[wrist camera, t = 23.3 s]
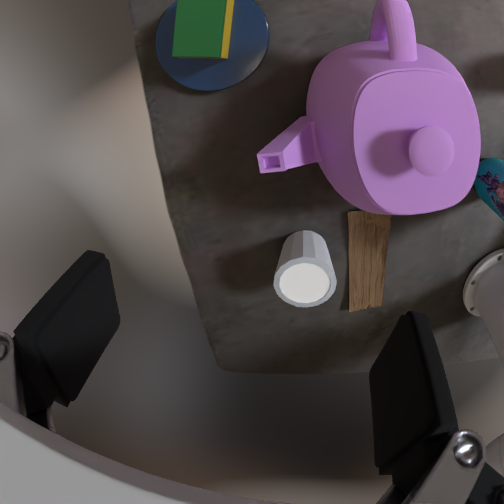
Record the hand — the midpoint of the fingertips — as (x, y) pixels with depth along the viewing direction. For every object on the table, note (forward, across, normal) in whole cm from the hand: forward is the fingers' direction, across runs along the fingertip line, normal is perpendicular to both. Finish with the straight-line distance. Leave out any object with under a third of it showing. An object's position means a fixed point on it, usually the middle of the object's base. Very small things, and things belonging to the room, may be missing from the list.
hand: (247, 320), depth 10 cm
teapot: (+28, -7, -5) cm, 29 cm away
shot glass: (+28, -4, +14) cm, 31 cm away
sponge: (+26, +10, -11) cm, 30 cm away
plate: (+27, +10, -10) cm, 30 cm away
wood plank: (+27, -15, +13) cm, 34 cm away
